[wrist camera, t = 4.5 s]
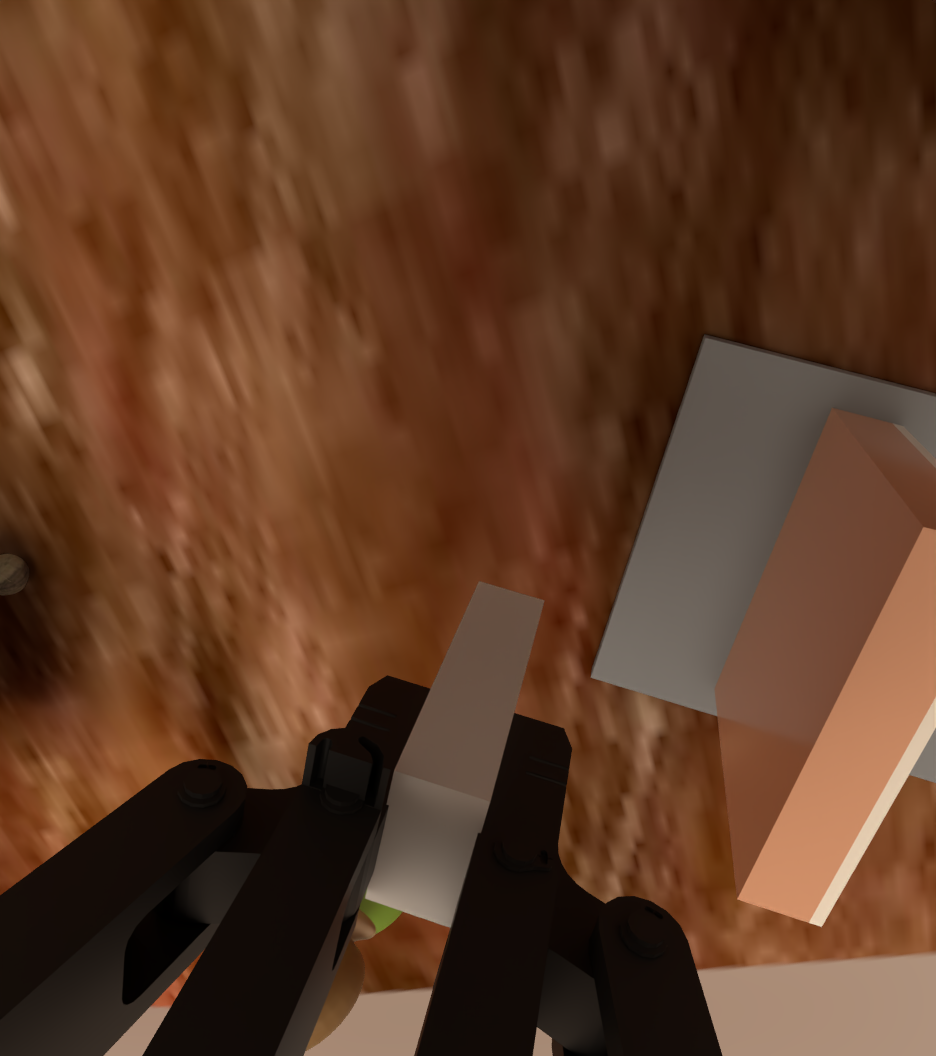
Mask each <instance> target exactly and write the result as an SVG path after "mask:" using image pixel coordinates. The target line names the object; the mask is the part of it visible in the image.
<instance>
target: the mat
mask: <svg viewBox="0 0 936 1056" xmlns="http://www.w3.org/2000/svg"><path fill="white" fill-rule="evenodd" d="M832 408H835V409H839V410H843V411H847V412H851V413H855V414H858V415H862V416H866V417H870V418H874V419H878V420H881V421H885V422H889V423H893V424H897V425H901V426H903V427H904V428H905V429H906V430H907V431H908V432H909V433H910V434H911V435H912V436H913V437H914V438H915V439H916V440H917V441H918V442H919V443H920V444H921V445H922V446H923V447H924V448H925V449H926V450H927V451H928V452H929V453H930V454H931V455H932V456H933V457H934V458H935V459H936V393H932V392H928V391H924V390H920V389H916V388H912V387H909V386H905V385H901V384H897V383H893V382H889V381H885V380H881V379H877V378H873V377H869V376H866V375H862V374H858V373H854V372H850V371H846V370H842V369H838V368H834V367H830V366H826V365H823V364H819V363H815V362H811V361H807V360H803V359H799V358H795V357H791V356H787V355H783V354H780V353H776V352H772V351H768V350H764V349H760V348H756V347H752V346H748V345H744V344H740V343H737V342H733V341H729V340H725V339H721V338H717V337H713V336H709V335H705V334H704V337H703V340H702V343H701V346H700V349H699V352H698V355H697V358H696V361H695V364H694V367H693V370H692V373H691V375H690V378H689V381H688V384H687V387H686V390H685V393H684V396H683V399H682V402H681V405H680V408H679V411H678V414H677V417H676V420H675V423H674V426H673V429H672V432H671V435H670V438H669V441H668V444H667V447H666V450H665V453H664V456H663V459H662V462H661V465H660V468H659V471H658V474H657V477H656V480H655V483H654V486H653V488H652V491H651V494H650V497H649V500H648V503H647V506H646V509H645V512H644V515H643V518H642V521H641V524H640V527H639V530H638V533H637V536H636V539H635V542H634V545H633V548H632V551H631V554H630V557H629V560H628V563H627V566H626V569H625V572H624V575H623V578H622V581H621V584H620V587H619V590H618V593H617V596H616V599H615V602H614V604H613V607H612V610H611V613H610V616H609V619H608V622H607V625H606V628H605V631H604V634H603V637H602V640H601V643H600V646H599V649H598V652H597V655H596V658H595V661H594V664H593V667H592V672H591V678H594V679H597V680H600V681H604V682H607V683H610V684H614V685H617V686H620V687H623V688H627V689H630V690H633V691H636V692H640V693H643V694H646V695H650V696H653V697H656V698H659V699H663V700H666V701H669V702H673V703H676V704H679V705H682V706H686V707H689V708H692V709H695V710H699V711H702V712H705V713H709V714H712V715H715V716H717V708H716V698H715V686H716V684H717V682H718V679H719V677H720V674H721V672H722V670H723V667H724V665H725V662H726V660H727V658H728V655H729V653H730V651H731V648H732V646H733V643H734V641H735V639H736V636H737V634H738V631H739V629H740V627H741V624H742V622H743V619H744V617H745V615H746V612H747V610H748V608H749V605H750V603H751V600H752V598H753V596H754V593H755V591H756V588H757V586H758V584H759V581H760V579H761V576H762V574H763V572H764V569H765V567H766V565H767V562H768V560H769V557H770V555H771V553H772V550H773V548H774V545H775V543H776V541H777V538H778V536H779V533H780V531H781V529H782V526H783V524H784V522H785V519H786V517H787V514H788V512H789V510H790V507H791V505H792V502H793V500H794V498H795V495H796V493H797V490H798V488H799V486H800V483H801V481H802V479H803V476H804V474H805V471H806V469H807V467H808V464H809V462H810V459H811V457H812V455H813V452H814V450H815V447H816V445H817V443H818V440H819V438H820V436H821V433H822V431H823V428H824V426H825V424H826V421H827V419H828V416H829V414H830V412H831V409H832ZM909 775H912V776H915V777H918V778H922V779H925V780H928V781H931V782H935V783H936V728H935V730H934V732H933V734H932V735H931V737H930V739H929V741H928V742H927V744H926V746H925V748H924V749H923V751H922V753H921V754H920V756H919V758H918V760H917V761H916V763H915V765H914V767H913V768H912V770H911V772H910V774H909Z"/></svg>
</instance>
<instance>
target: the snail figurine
mask: <svg viewBox="0 0 936 1056" xmlns="http://www.w3.org/2000/svg"><path fill="white" fill-rule="evenodd" d="M367 888H368V887H367ZM366 892H367V890H366ZM366 892H365V894H364V897H363V899H362V902H361V904H360V908H359V912H358V917H357V921H356V926H355V929H354V931H353V934H352V936H351V939H350V941H349V944H348V946H347V949H346V951H345V954H344V956H343V959H342V961H341V963H340V966H339V968H338V971H337V973H336V976H335V978H334V981H333V983H332V986H331V988H330V991H329V993H328V996H327V998H326V1001H325V1003H324V1006H323V1008H322V1011H321V1013H320V1016H319V1018H318V1021H317V1023H316V1026H315V1028H314V1031H313V1033H312V1036H311V1038H310V1041H309V1043H308V1045H307V1048H306V1050H305V1051H307V1050H309V1049H310V1048H312V1047H314V1046H315V1045H317V1044H318V1043H320V1042H321V1041H322V1040H324V1039H325V1038H326V1037H327V1036H329V1035H330V1034H331V1033H332V1032H333V1031H334V1030H335V1029H336V1028H337V1027H338V1026H339V1025H340V1024H341V1023H342V1021H343V1020H344V1019H345V1017H346V1016H347V1015H348V1014H349V1012H350V1011H351V1009H352V1008H353V1006H354V1004H355V1003H356V1001H357V998H358V996H359V994H360V992H361V989H362V985H363V981H364V974H365V965H364V960H363V957H362V954H361V953H360V951H359V950H358V948H357V947H356V945H355V944H354V942H355V941H357V940H364V939H369V938H372V937H373V936H374V935H375V934H376V933H378V932H380V931H382V930H383V929H385V928H386V927H387V926H389V925H390V924H391V923H392V922H393V921H395V920H396V919H397V918H398V916H399V915H400V914H401V913H402V912H403V911H400V910H397V909H394V908H391V907H388V906H385V905H382V904H380V903H377V902H374V901H371V900H368V899H365V896H366Z"/></svg>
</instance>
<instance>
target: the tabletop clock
mask: <svg viewBox="0 0 936 1056" xmlns="http://www.w3.org/2000/svg"><path fill="white" fill-rule="evenodd" d="M28 578H29V568H28V565H27V564H26V562H25V561H24V560H23V559H21V558H20V557H18V556H16V555H13V554H2V555H0V595H2V596H4V595H10V594H15V593H17V592H19V591H21V590H22V589H23V588H24V587H25V586H26V584H27V581H28Z"/></svg>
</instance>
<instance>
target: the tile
mask: <svg viewBox="0 0 936 1056" xmlns="http://www.w3.org/2000/svg"><path fill="white" fill-rule="evenodd" d="M715 698H716V708H717V717H718V726H719V735H720V745H721V754H722V763H723V772H724V781H725V791H726V800H727V809H728V818H729V828H730V837H731V846H732V855H733V864H734V874H735V883H736V892H737V899H738V900H741V901H744V902H747V903H750V904H753V905H756V906H759V907H762V908H766V909H769V910H772V911H775V912H778V913H781V914H784V915H787V916H790V917H793V918H796V919H799V920H802V921H805V922H808V923H811V924H814V925H817V926H820V927H822V925H823V924H824V922H825V920H826V918H827V917H828V915H829V913H830V911H831V910H832V908H833V906H834V904H835V903H836V901H837V899H838V897H839V896H840V894H841V892H842V890H843V889H844V887H845V885H846V883H847V882H848V880H849V878H850V876H851V875H852V873H853V871H854V870H855V868H856V866H857V864H858V863H859V861H860V859H861V857H862V856H863V854H864V852H865V850H866V849H867V847H868V845H869V843H870V842H871V840H872V838H873V836H874V835H875V833H876V831H877V829H878V828H879V826H880V824H881V822H882V821H883V819H884V817H885V815H886V814H887V812H888V810H889V809H890V807H891V805H892V803H893V802H894V800H895V798H896V796H897V795H898V793H899V791H900V789H901V788H902V786H903V784H904V782H905V781H906V779H907V777H908V775H909V774H910V772H911V770H912V768H913V767H914V765H915V763H916V761H917V760H918V758H919V756H920V754H921V753H922V751H923V749H924V748H925V746H926V744H927V742H928V741H929V739H930V737H931V735H932V734H933V732H934V730H935V728H936V459H935V458H934V457H933V456H932V455H931V454H930V453H929V452H928V451H927V450H926V449H925V448H924V447H923V446H922V445H921V444H920V443H919V442H918V441H917V440H916V439H915V438H914V437H913V436H912V435H911V434H910V433H909V432H908V431H907V430H906V429H905V428H904V427H903V426H901V425H897V424H893V423H889V422H885V421H881V420H878V419H874V418H870V417H866V416H862V415H858V414H855V413H851V412H847V411H843V410H839V409H835V408H832V409H831V412H830V414H829V416H828V419H827V421H826V424H825V426H824V428H823V431H822V433H821V436H820V438H819V440H818V443H817V445H816V447H815V450H814V452H813V455H812V457H811V459H810V462H809V464H808V467H807V469H806V471H805V474H804V476H803V479H802V481H801V483H800V486H799V488H798V490H797V493H796V495H795V498H794V500H793V502H792V505H791V507H790V510H789V512H788V514H787V517H786V519H785V522H784V524H783V526H782V529H781V531H780V533H779V536H778V538H777V541H776V543H775V545H774V548H773V550H772V553H771V555H770V557H769V560H768V562H767V565H766V567H765V569H764V572H763V574H762V576H761V579H760V581H759V584H758V586H757V588H756V591H755V593H754V596H753V598H752V600H751V603H750V605H749V608H748V610H747V612H746V615H745V617H744V619H743V622H742V624H741V627H740V629H739V631H738V634H737V636H736V639H735V641H734V643H733V646H732V648H731V651H730V653H729V655H728V658H727V660H726V662H725V665H724V667H723V670H722V672H721V674H720V677H719V679H718V682H717V684H716V686H715Z"/></svg>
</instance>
